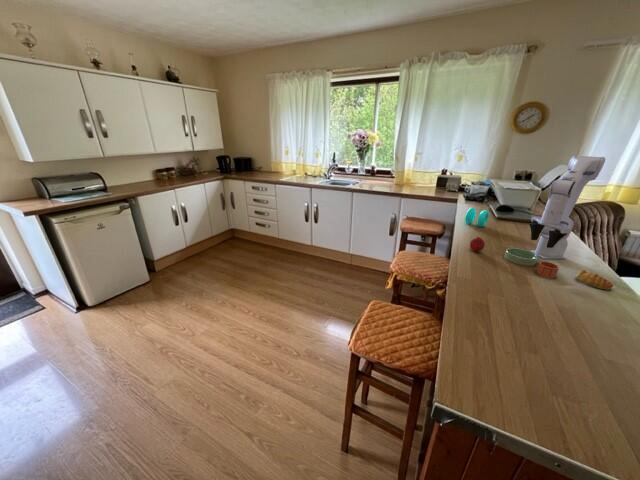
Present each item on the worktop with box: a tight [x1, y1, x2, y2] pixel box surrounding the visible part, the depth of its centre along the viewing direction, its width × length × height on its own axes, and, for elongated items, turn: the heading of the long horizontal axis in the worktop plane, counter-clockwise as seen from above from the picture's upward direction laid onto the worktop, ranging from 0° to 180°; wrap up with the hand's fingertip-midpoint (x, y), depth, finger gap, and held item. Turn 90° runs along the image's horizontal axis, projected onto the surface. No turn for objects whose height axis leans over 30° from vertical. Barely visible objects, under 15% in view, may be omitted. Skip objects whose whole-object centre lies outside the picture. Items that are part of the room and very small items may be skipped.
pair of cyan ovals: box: [464, 207, 490, 228], centre depth 150 cm, size 10×10×10 cm
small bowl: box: [535, 261, 560, 279], centre depth 98 cm, size 6×6×4 cm
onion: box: [469, 235, 486, 253], centre depth 116 cm, size 6×6×8 cm
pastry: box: [574, 269, 614, 291], centre depth 92 cm, size 9×7×4 cm
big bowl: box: [503, 247, 539, 267], centre depth 109 cm, size 11×11×4 cm
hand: (541, 243), depth 104 cm, fingers open, 7 cm apart
